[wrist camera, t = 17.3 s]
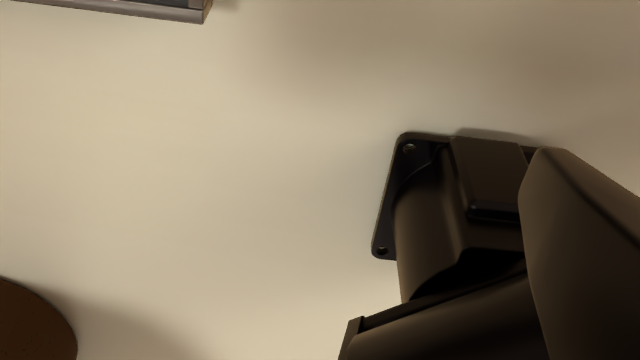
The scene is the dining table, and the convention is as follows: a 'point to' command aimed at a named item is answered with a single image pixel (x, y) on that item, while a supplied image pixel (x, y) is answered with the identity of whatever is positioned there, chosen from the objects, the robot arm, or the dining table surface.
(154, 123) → the dining table surface
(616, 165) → the dining table surface
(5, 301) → the olive oil
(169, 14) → the drip tray
